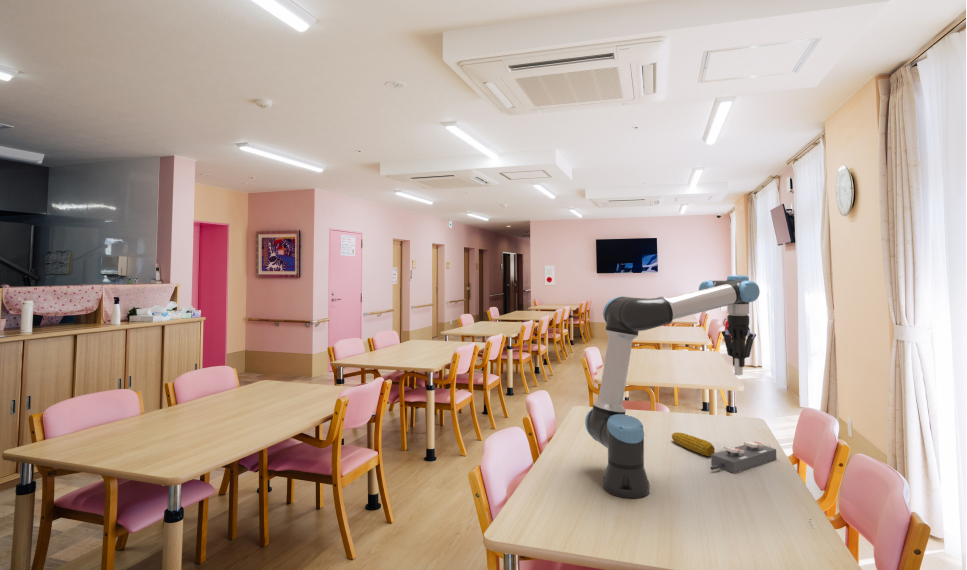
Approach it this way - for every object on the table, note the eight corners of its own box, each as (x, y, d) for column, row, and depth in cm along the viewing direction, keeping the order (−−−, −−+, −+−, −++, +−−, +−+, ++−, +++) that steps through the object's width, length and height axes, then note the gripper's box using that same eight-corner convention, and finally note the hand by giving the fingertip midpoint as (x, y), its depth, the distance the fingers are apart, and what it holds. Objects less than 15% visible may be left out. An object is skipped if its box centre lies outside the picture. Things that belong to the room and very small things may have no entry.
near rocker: (733, 452, 174) (733, 449, 174) (723, 449, 177) (723, 446, 177) (744, 453, 177) (744, 450, 177) (734, 450, 180) (735, 447, 180)
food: (717, 457, 186) (716, 442, 185) (706, 459, 183) (706, 444, 183) (676, 440, 205) (676, 426, 205) (666, 442, 203) (666, 428, 203)
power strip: (723, 477, 167) (722, 463, 167) (700, 468, 175) (700, 454, 175) (776, 459, 182) (776, 446, 182) (753, 452, 190) (753, 439, 190)
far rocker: (752, 447, 179) (753, 444, 179) (743, 444, 182) (743, 441, 183) (763, 446, 182) (764, 443, 182) (754, 443, 186) (754, 441, 186)
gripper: (760, 315, 180) (760, 376, 180) (728, 313, 191) (729, 371, 192) (748, 316, 176) (748, 379, 177) (716, 314, 188) (717, 373, 188)
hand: (738, 374), depth 184 cm, fingers closed
